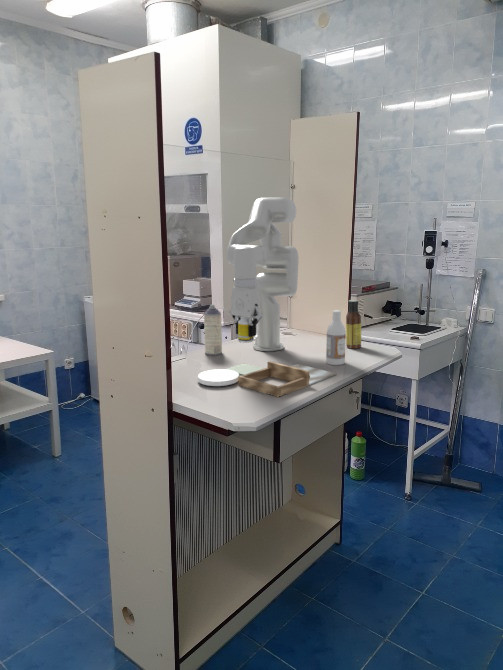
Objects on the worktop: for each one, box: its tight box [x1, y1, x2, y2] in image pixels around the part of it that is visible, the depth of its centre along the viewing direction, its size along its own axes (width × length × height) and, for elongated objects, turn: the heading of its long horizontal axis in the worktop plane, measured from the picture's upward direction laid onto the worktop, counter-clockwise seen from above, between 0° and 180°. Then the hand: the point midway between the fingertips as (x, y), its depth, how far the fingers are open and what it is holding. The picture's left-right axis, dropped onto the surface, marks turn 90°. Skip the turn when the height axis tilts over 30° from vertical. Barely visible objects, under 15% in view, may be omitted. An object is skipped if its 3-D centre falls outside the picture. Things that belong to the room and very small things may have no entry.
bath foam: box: [325, 309, 346, 366], centre depth 200 cm, size 7×7×20 cm
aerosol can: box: [203, 304, 223, 357], centre depth 216 cm, size 7×7×20 cm
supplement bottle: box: [237, 316, 254, 344], centre depth 187 cm, size 5×5×10 cm
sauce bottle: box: [345, 299, 362, 350], centre depth 223 cm, size 6×6×20 cm
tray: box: [226, 363, 265, 376], centre depth 191 cm, size 12×10×2 cm
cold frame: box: [238, 360, 337, 398], centre depth 183 cm, size 17×31×5 cm, turn 136°
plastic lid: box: [197, 368, 239, 387], centre depth 183 cm, size 14×14×2 cm
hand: (246, 334), depth 188 cm, fingers closed on supplement bottle, 5 cm apart
